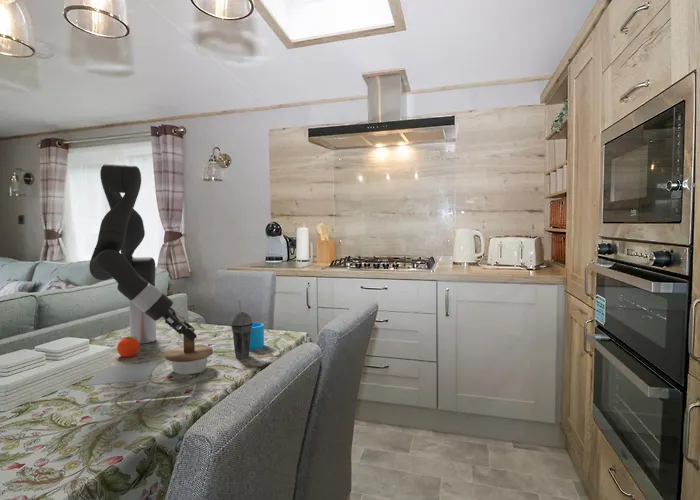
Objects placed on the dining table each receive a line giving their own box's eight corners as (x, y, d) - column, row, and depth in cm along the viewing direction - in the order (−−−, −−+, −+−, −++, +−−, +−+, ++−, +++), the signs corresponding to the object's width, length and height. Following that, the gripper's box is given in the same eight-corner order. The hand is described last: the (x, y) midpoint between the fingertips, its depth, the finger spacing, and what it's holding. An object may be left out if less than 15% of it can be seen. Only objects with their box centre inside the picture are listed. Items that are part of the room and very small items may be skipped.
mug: (264, 348, 152) (264, 327, 151) (241, 350, 150) (241, 328, 149) (263, 340, 163) (263, 319, 163) (242, 341, 161) (242, 321, 161)
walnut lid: (169, 349, 133) (169, 325, 133) (214, 346, 137) (214, 323, 136) (160, 363, 120) (159, 336, 119) (210, 359, 123) (210, 333, 123)
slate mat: (103, 368, 130) (103, 366, 130) (157, 364, 134) (157, 362, 134) (84, 387, 115) (84, 385, 115) (146, 381, 119) (146, 380, 119)
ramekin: (192, 379, 121) (191, 361, 121) (162, 374, 125) (162, 357, 125) (216, 367, 132) (215, 351, 132) (187, 363, 136) (187, 347, 135)
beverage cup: (256, 354, 144) (256, 298, 143) (245, 361, 137) (244, 302, 136) (239, 352, 147) (238, 297, 146) (227, 358, 140) (226, 301, 139)
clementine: (129, 352, 147) (129, 333, 146) (146, 353, 145) (146, 334, 145) (112, 359, 139) (111, 338, 139) (130, 360, 138) (129, 340, 137)
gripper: (161, 296, 117) (204, 331, 123) (161, 289, 130) (200, 321, 136) (141, 315, 115) (185, 350, 121) (143, 306, 128) (183, 338, 134)
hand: (193, 335), depth 128 cm, fingers open, 8 cm apart
